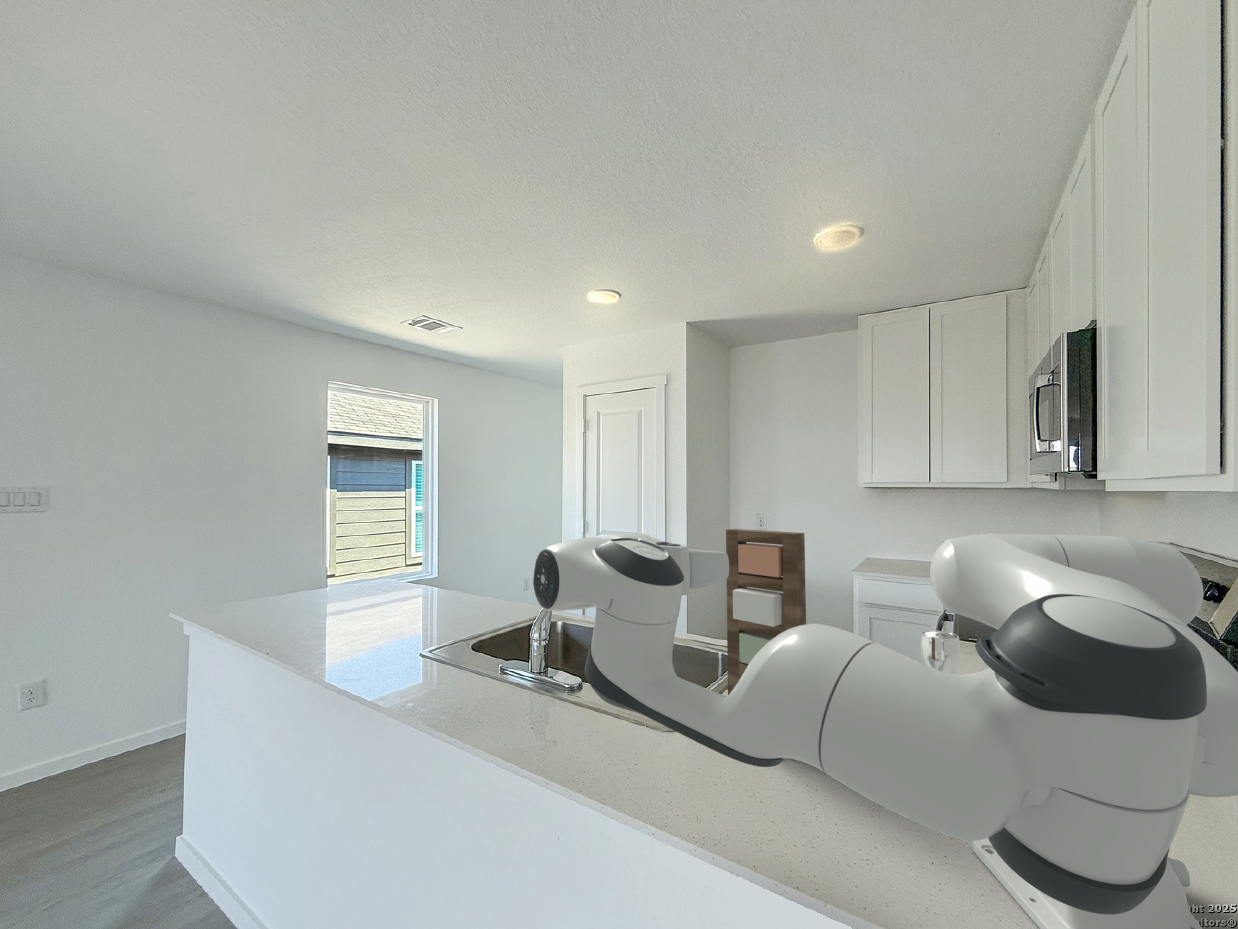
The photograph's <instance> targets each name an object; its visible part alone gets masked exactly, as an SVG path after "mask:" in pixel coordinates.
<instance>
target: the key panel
mask: <svg viewBox="0 0 1238 929" xmlns="http://www.w3.org/2000/svg"><path fill="white" fill-rule="evenodd" d="M805 539H806V538H805V532H796V531H795V532H792V531H776V530H762V529H761V530H759V529H747V528H746V529H743V528H730V529H729V528H728V529H727V528H726V529H725V542H726V543H725V547H726V549H725V553H727V555H728V558H729V576H728V578H727V579H726V635H727V637H726V638H727V639H726V640H727V643H726V645H727V646H726V647H727V648H726V649H727V652H726V654H727V655H726V656H727V696H728V695H729V694H730V693H731V691H732V690H733V689H734V687H735V686H736V685H737V683H738V682H739V680H740V678H741V677H742V675H743V673H744V672H745V670H746V668H747V666H748V665H749V664H746V663H743V662H740V656H739V633H742V632H745V631H747V632H752V633H756V634H761V635H766V636H770V637H776V636H777V635H779V634H780V633H782V632H784V631H786V630H788V629H790V628H793V627H796V626H800V625H805V624H807V613H806V612H807V604H806V602H807V600H806V598H807V595H806V590H807V589H806V550H805V549H806V546H805V544H806V543H805V542H806V541H805ZM746 543H757V544H770V545H782V546H783V576H782V577H772V576H764V575H756V574H749V573H741V572H738V544H746ZM744 587H746V588H753V589H759V590H766V591H773V592H779V593H783V602H784V623H783V624H780V625H777V626H775V627H772V626H767V625H762V624H757V623H752V622H748V621H743V620H738V619H733V590H736V589H740V588H744Z"/></svg>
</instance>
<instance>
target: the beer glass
mask: <svg viewBox="0 0 1238 929" xmlns="http://www.w3.org/2000/svg"><path fill="white" fill-rule="evenodd" d="M961 651H962V650H961V644H960V636H959V635H958V634H956V633H953V632H949V631H944V630H943V631H942V630H936V629H933V630H932V629H930V630H923V631H921V640H920V657H921V658H920V660H921V663H922V664H924V665H926V666H929V667H932V668H934V669H937V670H940V671H943V672H947V673H952V674H961V667H962V654H961V653H962V652H961Z"/></svg>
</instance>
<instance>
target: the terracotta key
mask: <svg viewBox="0 0 1238 929" xmlns="http://www.w3.org/2000/svg"><path fill="white" fill-rule="evenodd" d="M738 572H741V573H749V574H756V575H764V576H772V577H783V545H777V544H765V543H752V542H747V543H746V544H738Z"/></svg>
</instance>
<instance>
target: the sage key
mask: <svg viewBox="0 0 1238 929" xmlns="http://www.w3.org/2000/svg"><path fill="white" fill-rule="evenodd" d="M773 638H774V637H770V636H766V635H761V634H756V633H752V632H747V631H745V632H742V633H739V656H740V662H743V663H746V664H749V663H750V662H751V660H752V659H753V658H754V656H755V655H756V654H757V653H758V652H759V651H760V650H761V649H762V648H763V647H764V646H765V645H766V644H767V643H768V642H769V641H770V640H772V639H773Z"/></svg>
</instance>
